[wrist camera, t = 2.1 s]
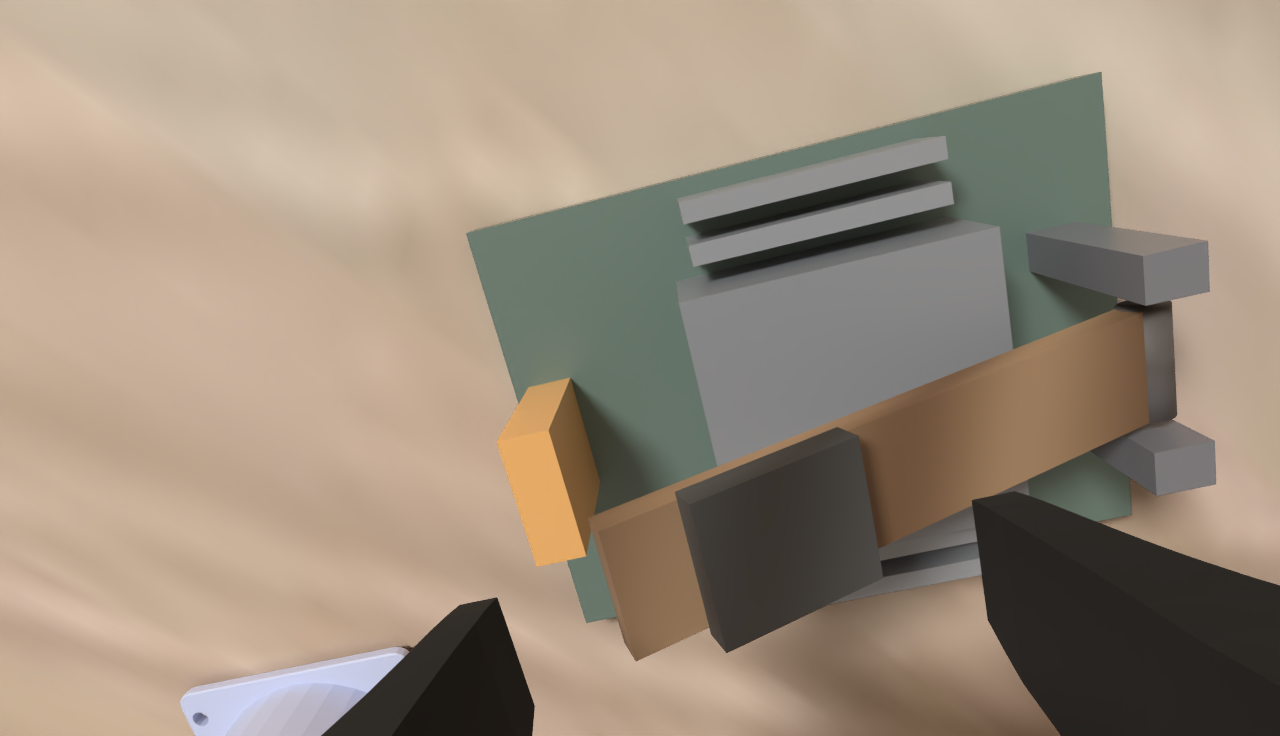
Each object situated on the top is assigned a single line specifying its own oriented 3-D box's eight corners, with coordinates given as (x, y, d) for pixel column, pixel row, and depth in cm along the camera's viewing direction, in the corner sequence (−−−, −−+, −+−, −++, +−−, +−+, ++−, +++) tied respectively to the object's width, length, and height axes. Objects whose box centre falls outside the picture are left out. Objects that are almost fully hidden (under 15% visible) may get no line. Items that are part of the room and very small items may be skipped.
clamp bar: (1135, 289, 16) (1203, 294, 14) (1142, 407, 16) (1208, 422, 15) (582, 505, 12) (606, 538, 11) (623, 643, 13) (650, 689, 12)
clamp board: (1110, 498, 21) (1263, 612, 16) (589, 603, 23) (567, 740, 17) (1077, 76, 18) (1254, 39, 13) (475, 230, 20) (405, 255, 14)
